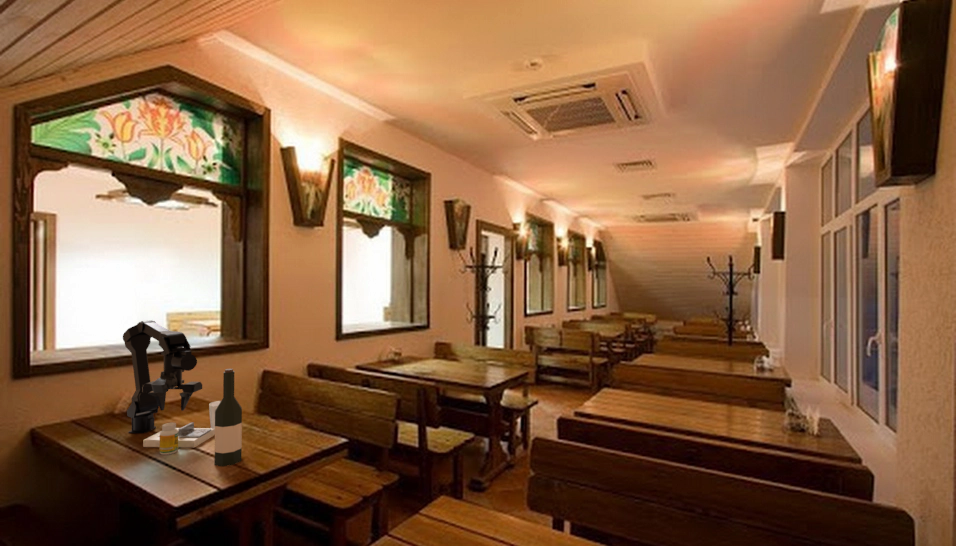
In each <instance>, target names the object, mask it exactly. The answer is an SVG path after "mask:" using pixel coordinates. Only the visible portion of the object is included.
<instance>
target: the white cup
mask: <svg viewBox="0 0 956 546" xmlns="http://www.w3.org/2000/svg"><path fill="white" fill-rule="evenodd" d="M221 401H222V399H221V400H216V401H212V402H210V403H209V404H208V406H209V407H208V409H209V410H208V411H209V422H210V428H215V410H216V409H217V407H218V405H219V404H220V402H221Z"/></svg>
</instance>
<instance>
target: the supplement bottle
mask: <svg viewBox="0 0 956 546" xmlns="http://www.w3.org/2000/svg"><path fill="white" fill-rule="evenodd" d="M176 428H177V423H176V422H167V423H163V424H161V429H162V430H160V431H161V432H160V431H159V432H160V447H159V454H160V455H164V456H165V455H167V456H168V455H173V454H175V453H177V452H178V451H179V447H178V430H177V429H176Z"/></svg>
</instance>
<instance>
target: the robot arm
mask: <svg viewBox="0 0 956 546" xmlns="http://www.w3.org/2000/svg"><path fill="white" fill-rule="evenodd" d="M152 338H153V339H154V340H157V342H158V346H159V347H160V348H161V349H162V351H161V353H160V354H161V355H162V356H163V370H162V371H160V376H159V378H157V379H156V380H152V381H151V376H150V367H149V360H148V359H149V358H148V353H147V352H148V351H147V349H149V346H150V345H151V339H152ZM122 340H123V342H124V346H125V348H126V349H127V350H128V351H129V352H130V353H131V361H132V368H133V378H134V385H135V392H134V393H133V395H132V397H131V404H130V405H129V407H128V409H127V410H126V415H127V417H129V418H131V430H129V431H128V434H145V433H148V432H150V431H152V430H154V429H156V428H157V426H155V417H154V414H157V413H159V412H158V411H159V409H160V411H164V410H165V405H166V398H167V397H166V396H167V393H168V391H169V390H181V391H182V392H180V393H179V394H178V395H179V396H180V411H181V412H182V411H185V409H186V407H187V405H188V403H189V401H190V399H191V398H192V395H193V394H194V393H196V392H197V391H200V390H203V383H202V382H201V381H189V382H187V383H185V379H183V373H185V371H192V370H194V369H195V367H197V364H198V360H197V357H196V356H195V355H194V354H192V349H191V345H190V343H189V341H188V339H187V336H186V335H185V334H184V333H183V332H181V331H176V330H174V331H173V330H169V329H168V328H166V327H163V326H162V325H160V324H158V323H157V322H156V321H155V320H153V319H152V320H141V321H139V322H138V323H137V324H135V325H134V326H131V327H129V328H127V329H126V330H125V332H124V333H123V334H122Z"/></svg>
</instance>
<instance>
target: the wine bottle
mask: <svg viewBox="0 0 956 546" xmlns="http://www.w3.org/2000/svg"><path fill="white" fill-rule="evenodd" d="M222 376H223V377H222V379H223V387H222V388H223V391H222V396H223V397H222V399H221V400H222V401H221V400H220V401H221V402H220V404H219V405H218V407H217V409H216V410H215V435H214V466H217V465H218V466H217V467H227V465H229V466H234V465H236V464H238V463H240V462H242V448H243V447H242V443H243V441H242V439H243V438H242V435H243V434H242V433H243V431H242V430H243V429H242V428H243V408H242V406H241V405H240V403H239V401H238V400H237V399H236V397H235V370H234V368H226V369H224V371H223V375H222Z"/></svg>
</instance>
